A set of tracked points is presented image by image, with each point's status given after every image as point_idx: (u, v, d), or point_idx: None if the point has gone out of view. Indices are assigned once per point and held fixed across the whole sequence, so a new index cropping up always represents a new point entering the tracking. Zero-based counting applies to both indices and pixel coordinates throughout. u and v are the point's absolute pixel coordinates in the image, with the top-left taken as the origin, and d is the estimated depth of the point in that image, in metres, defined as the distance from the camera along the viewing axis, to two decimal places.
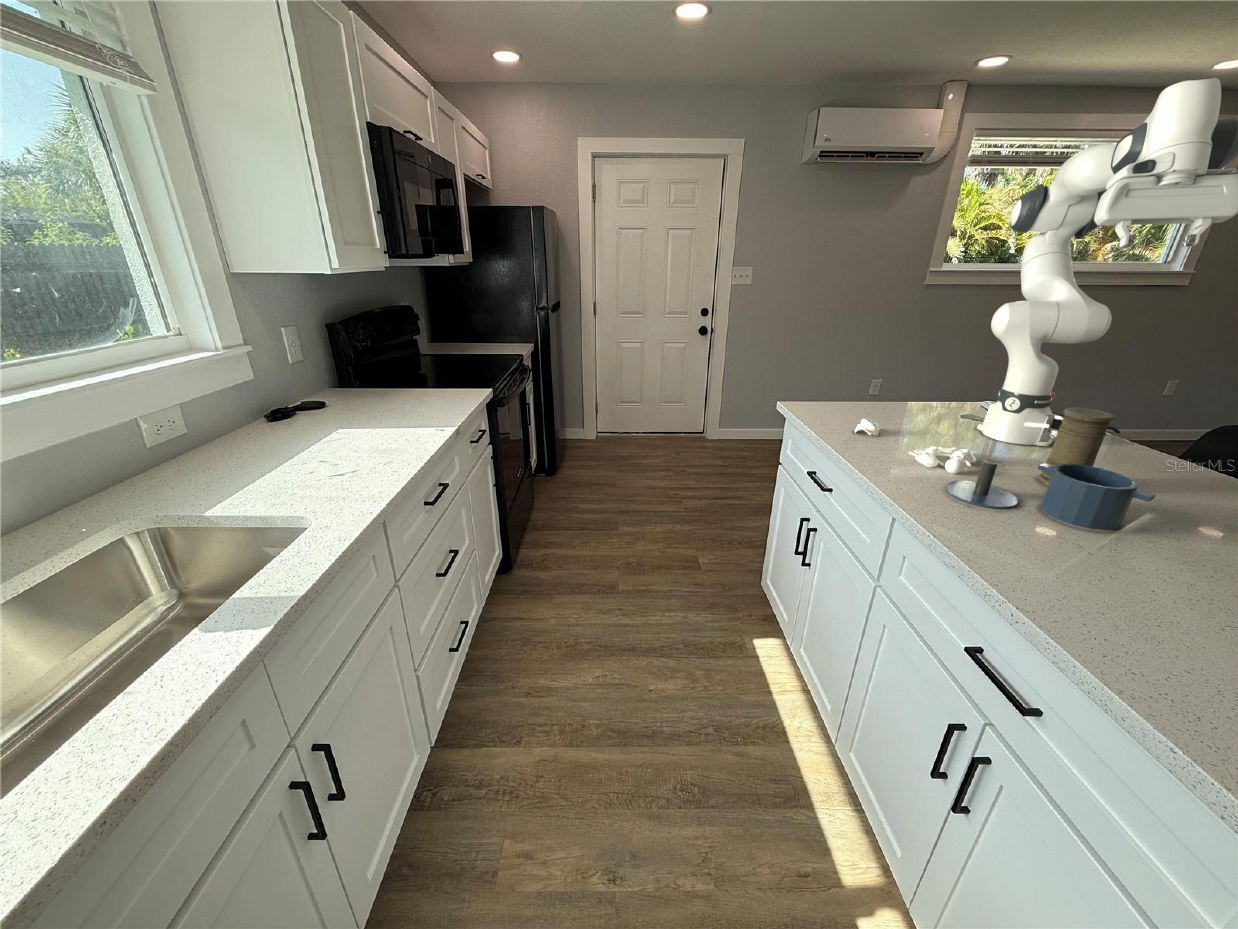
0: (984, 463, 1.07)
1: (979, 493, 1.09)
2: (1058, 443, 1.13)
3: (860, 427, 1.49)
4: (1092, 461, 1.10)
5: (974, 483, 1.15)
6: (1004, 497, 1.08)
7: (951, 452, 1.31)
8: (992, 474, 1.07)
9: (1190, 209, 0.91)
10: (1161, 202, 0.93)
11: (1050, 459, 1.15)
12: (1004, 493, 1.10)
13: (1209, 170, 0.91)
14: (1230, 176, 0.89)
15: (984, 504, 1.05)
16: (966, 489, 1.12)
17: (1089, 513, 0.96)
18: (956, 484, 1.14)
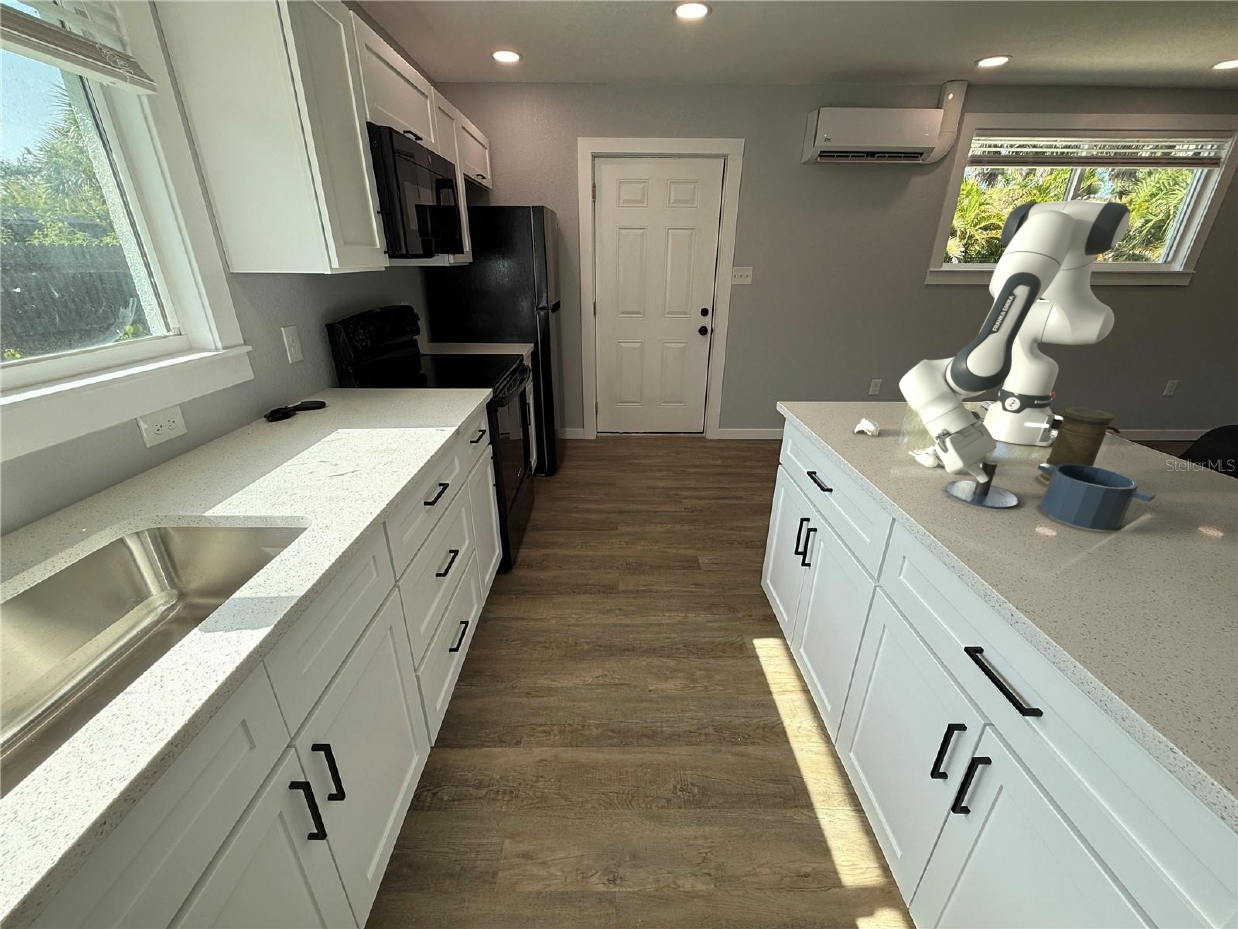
0: (984, 463, 1.07)
1: (979, 493, 1.09)
2: (1058, 443, 1.13)
3: (860, 427, 1.49)
4: (1092, 461, 1.10)
5: (974, 483, 1.15)
6: (1004, 497, 1.08)
7: None
8: (992, 474, 1.07)
9: None
10: None
11: (1050, 459, 1.15)
12: (1004, 493, 1.10)
13: None
14: None
15: (984, 504, 1.05)
16: (966, 489, 1.12)
17: (1089, 513, 0.96)
18: (956, 484, 1.14)
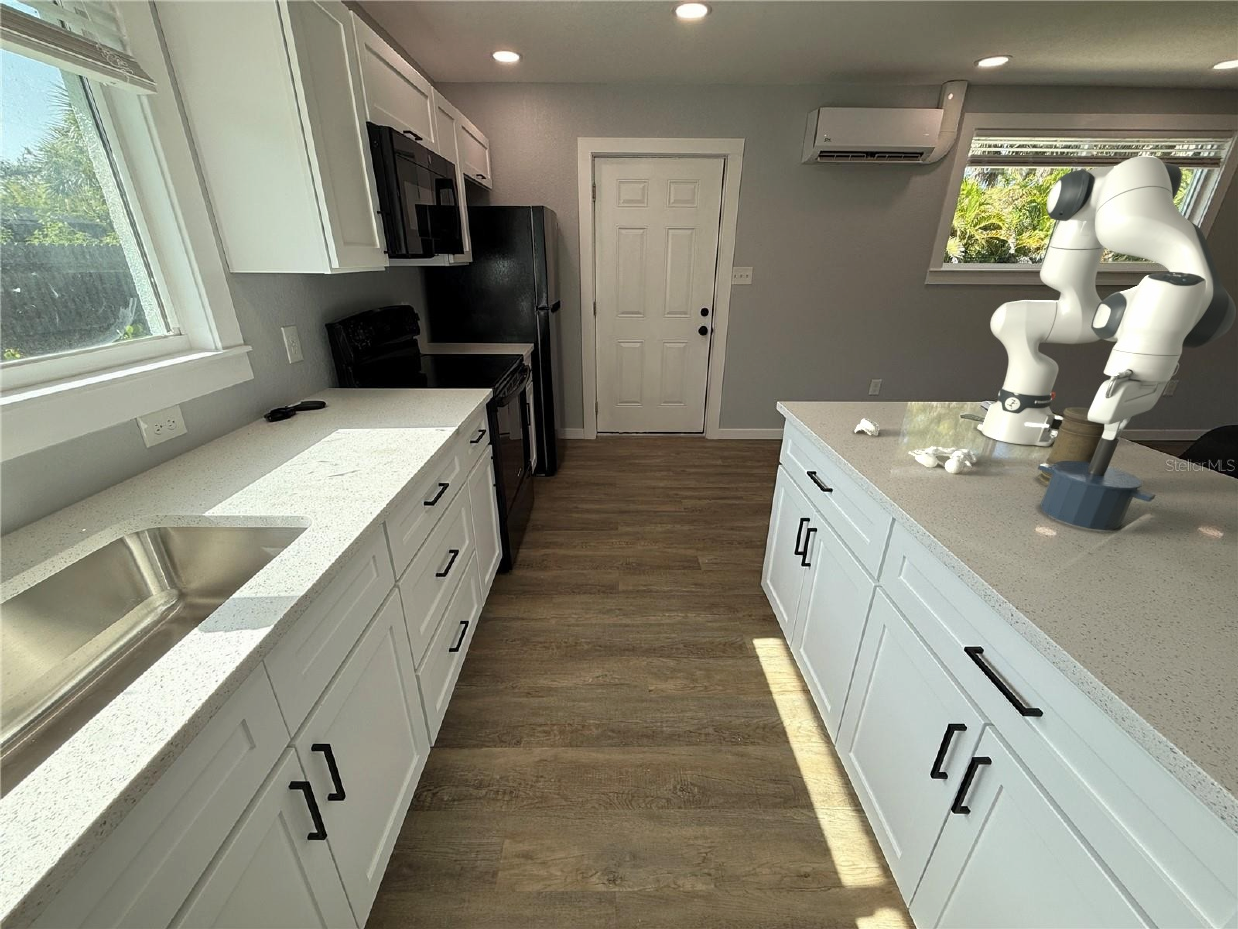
0: (1103, 439, 0.95)
1: (1095, 473, 0.97)
2: (1058, 443, 1.13)
3: (860, 427, 1.49)
4: None
5: (1083, 463, 1.03)
6: (1124, 478, 0.96)
7: (951, 452, 1.31)
8: (1112, 451, 0.95)
9: None
10: None
11: (1050, 459, 1.15)
12: (1122, 473, 0.98)
13: None
14: None
15: (1106, 485, 0.93)
16: (1077, 469, 1.00)
17: (1089, 513, 0.96)
18: (1063, 464, 1.02)
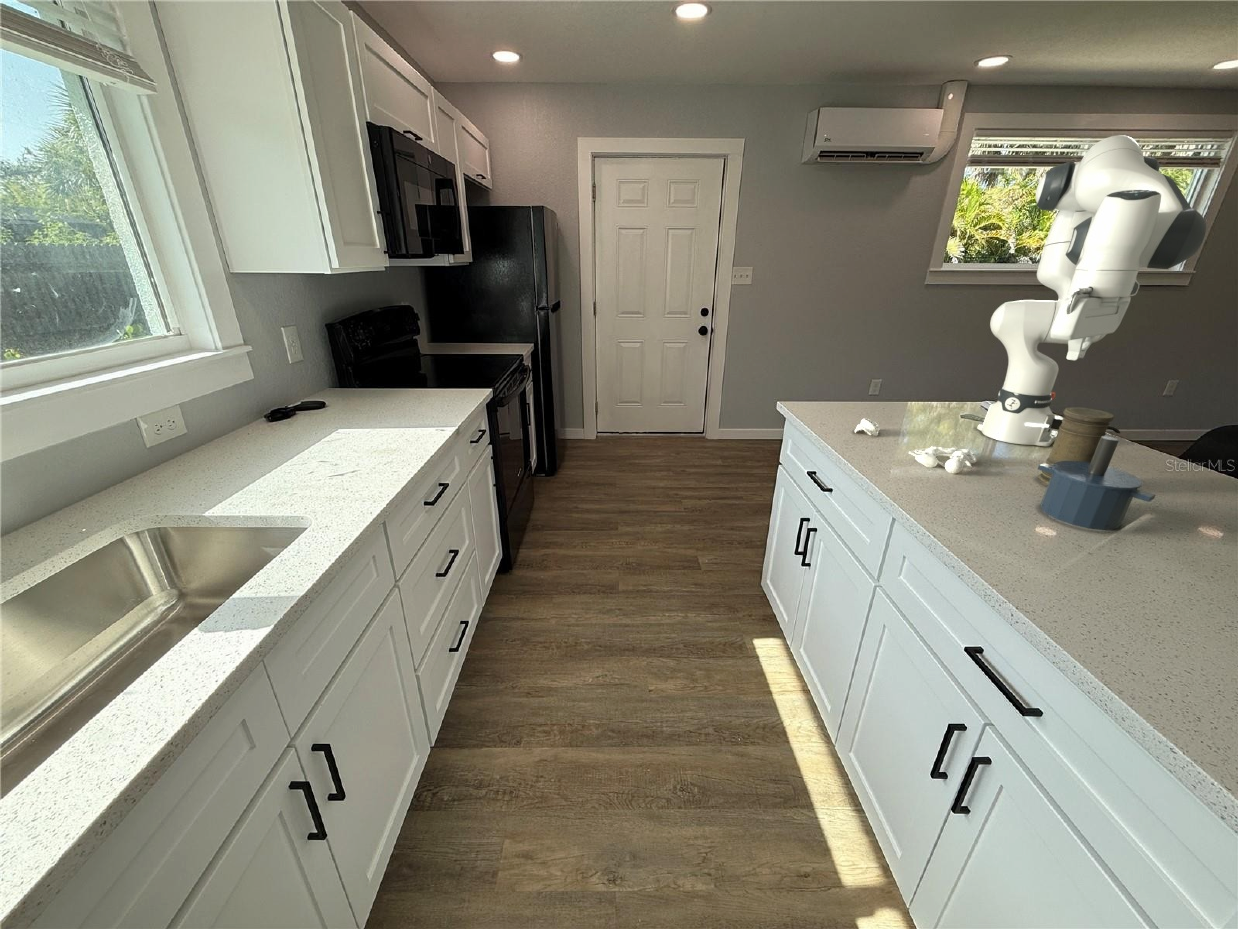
0: (1103, 439, 0.95)
1: (1095, 473, 0.97)
2: (1058, 443, 1.13)
3: (860, 427, 1.49)
4: None
5: (1083, 463, 1.03)
6: (1124, 478, 0.96)
7: (951, 452, 1.31)
8: (1112, 451, 0.95)
9: None
10: None
11: (1050, 459, 1.15)
12: (1122, 473, 0.98)
13: None
14: None
15: (1106, 485, 0.93)
16: (1077, 469, 1.00)
17: (1089, 513, 0.96)
18: (1063, 464, 1.02)
